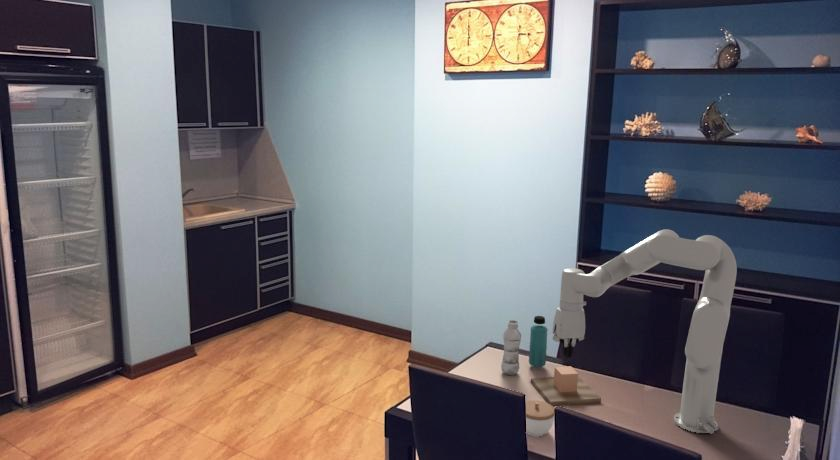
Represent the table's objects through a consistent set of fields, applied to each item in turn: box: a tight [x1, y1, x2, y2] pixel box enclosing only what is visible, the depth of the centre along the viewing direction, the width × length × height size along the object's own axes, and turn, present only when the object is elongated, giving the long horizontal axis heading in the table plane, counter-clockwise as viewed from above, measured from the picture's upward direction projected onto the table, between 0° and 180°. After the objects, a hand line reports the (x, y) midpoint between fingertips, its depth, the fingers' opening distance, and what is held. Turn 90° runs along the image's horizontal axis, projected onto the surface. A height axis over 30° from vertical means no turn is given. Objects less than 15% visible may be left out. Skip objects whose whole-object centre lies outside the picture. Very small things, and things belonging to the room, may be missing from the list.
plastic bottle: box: [500, 319, 522, 376], centre depth 226 cm, size 6×7×20 cm
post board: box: [530, 375, 602, 407], centre depth 214 cm, size 18×18×6 cm
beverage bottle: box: [528, 315, 549, 368], centre depth 233 cm, size 6×7×20 cm
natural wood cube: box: [553, 365, 579, 392], centre depth 214 cm, size 6×6×6 cm
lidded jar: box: [525, 399, 555, 438], centre depth 187 cm, size 11×11×9 cm
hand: (567, 356), depth 212 cm, fingers closed
